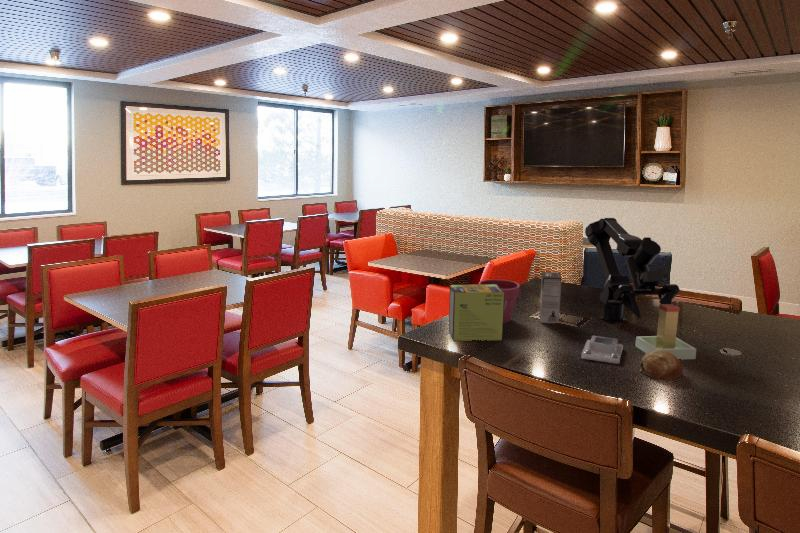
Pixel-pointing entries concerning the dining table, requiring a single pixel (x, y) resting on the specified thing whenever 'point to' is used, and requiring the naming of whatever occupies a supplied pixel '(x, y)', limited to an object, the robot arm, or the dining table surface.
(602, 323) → the dining table surface
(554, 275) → the coffee box
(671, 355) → the bread roll
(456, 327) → the protein box
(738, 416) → the dining table surface
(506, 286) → the plant pot
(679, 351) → the tray
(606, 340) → the bracket
